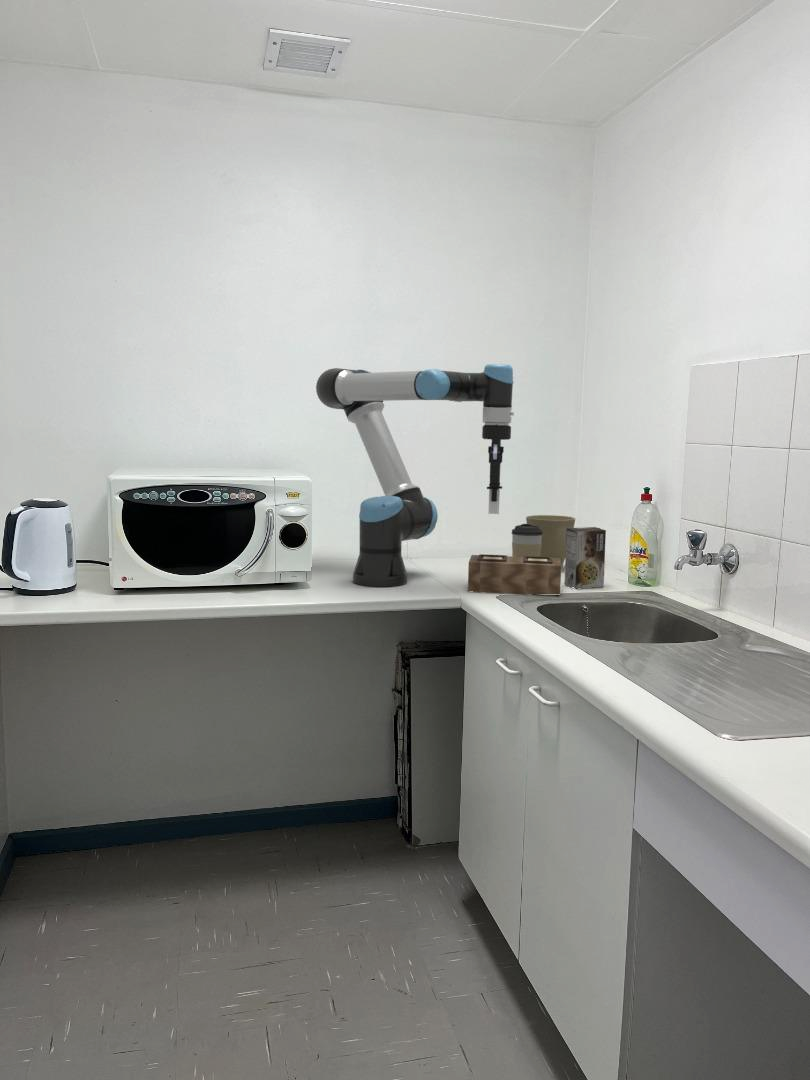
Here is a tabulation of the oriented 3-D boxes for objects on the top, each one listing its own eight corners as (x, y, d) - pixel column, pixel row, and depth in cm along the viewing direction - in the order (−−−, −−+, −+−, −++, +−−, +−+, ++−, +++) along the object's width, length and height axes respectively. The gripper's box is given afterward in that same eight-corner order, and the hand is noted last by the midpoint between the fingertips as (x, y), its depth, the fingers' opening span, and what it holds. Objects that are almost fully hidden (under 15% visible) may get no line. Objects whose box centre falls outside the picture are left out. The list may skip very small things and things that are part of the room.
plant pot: (578, 567, 259) (580, 516, 256) (566, 574, 245) (568, 521, 243) (532, 562, 265) (534, 513, 263) (517, 570, 252) (519, 518, 249)
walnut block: (467, 591, 218) (468, 559, 217) (470, 583, 230) (471, 552, 229) (559, 596, 215) (561, 563, 213) (558, 587, 226) (559, 556, 225)
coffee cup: (543, 578, 238) (545, 527, 236) (511, 578, 238) (513, 526, 236) (538, 573, 247) (540, 523, 245) (508, 572, 247) (510, 522, 245)
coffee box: (592, 583, 233) (594, 526, 230) (604, 587, 227) (607, 529, 224) (563, 584, 230) (565, 527, 228) (574, 589, 224) (577, 530, 222)
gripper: (510, 424, 210) (507, 516, 213) (511, 424, 223) (508, 511, 226) (481, 424, 211) (478, 515, 214) (483, 423, 224) (481, 510, 227)
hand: (493, 513), depth 220 cm, fingers closed
